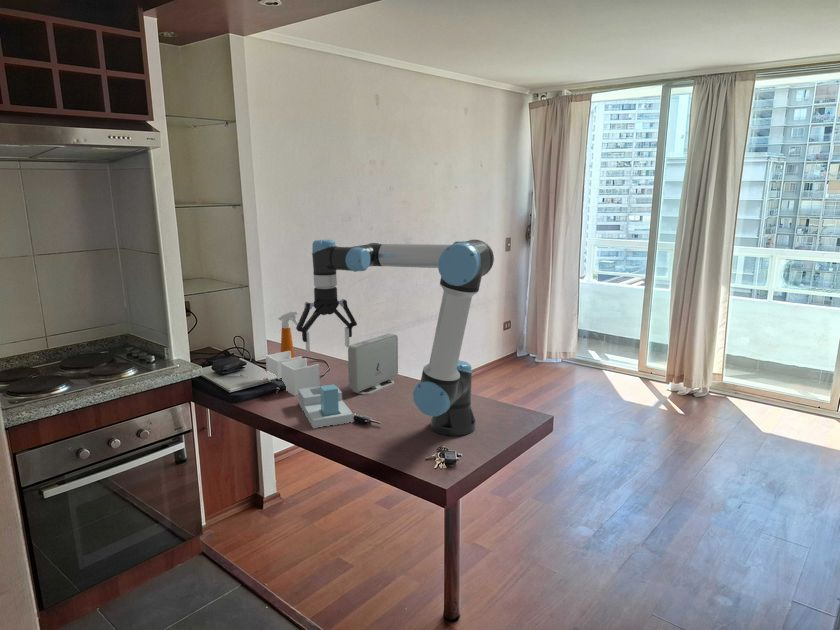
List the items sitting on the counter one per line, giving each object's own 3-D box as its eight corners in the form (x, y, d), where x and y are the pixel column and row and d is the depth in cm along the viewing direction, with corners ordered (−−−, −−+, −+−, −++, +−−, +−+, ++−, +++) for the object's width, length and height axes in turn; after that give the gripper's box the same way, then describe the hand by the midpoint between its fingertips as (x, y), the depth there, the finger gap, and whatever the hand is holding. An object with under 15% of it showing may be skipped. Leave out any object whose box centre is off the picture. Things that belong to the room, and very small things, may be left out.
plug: (338, 421, 195) (337, 388, 193) (324, 423, 193) (323, 390, 191) (334, 415, 201) (333, 383, 198) (320, 417, 199) (319, 385, 196)
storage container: (267, 380, 238) (265, 355, 236) (290, 375, 245) (289, 350, 243) (295, 396, 219) (293, 369, 217) (320, 390, 226) (318, 364, 224)
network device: (360, 398, 217) (359, 348, 213) (344, 393, 222) (342, 344, 218) (402, 381, 237) (401, 335, 233) (386, 376, 242) (385, 331, 238)
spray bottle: (301, 370, 250) (299, 312, 244) (277, 370, 251) (274, 312, 245) (305, 366, 257) (303, 309, 251) (282, 365, 258) (279, 309, 252)
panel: (353, 422, 195) (353, 405, 194) (313, 428, 189) (312, 411, 188) (335, 398, 216) (334, 384, 215) (298, 404, 211) (298, 389, 210)
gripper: (358, 282, 195) (359, 342, 199) (285, 287, 185) (288, 349, 190) (364, 285, 188) (366, 347, 192) (289, 291, 178) (293, 355, 183)
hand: (327, 348), depth 191 cm, fingers open, 13 cm apart
